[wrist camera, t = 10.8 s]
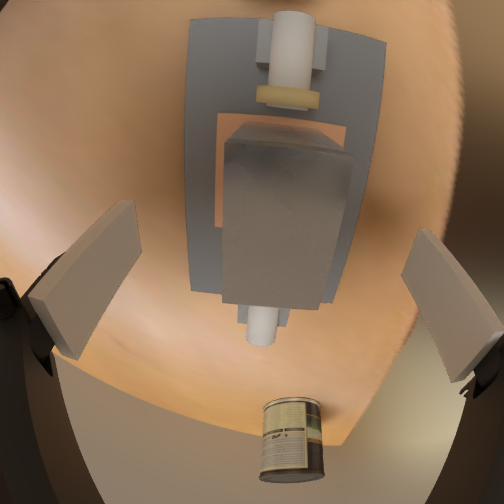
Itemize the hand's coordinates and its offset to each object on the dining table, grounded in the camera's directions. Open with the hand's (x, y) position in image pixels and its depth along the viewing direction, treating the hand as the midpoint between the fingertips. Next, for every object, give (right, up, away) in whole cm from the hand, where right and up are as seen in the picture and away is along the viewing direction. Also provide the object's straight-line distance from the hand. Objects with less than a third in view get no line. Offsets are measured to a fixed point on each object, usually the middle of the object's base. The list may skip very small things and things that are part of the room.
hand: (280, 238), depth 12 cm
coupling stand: (+1, +6, +9) cm, 11 cm away
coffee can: (+6, -28, +31) cm, 42 cm away
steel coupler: (+1, +5, +8) cm, 9 cm away
